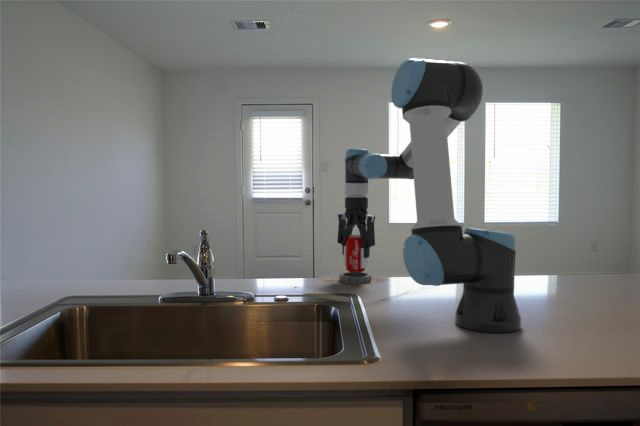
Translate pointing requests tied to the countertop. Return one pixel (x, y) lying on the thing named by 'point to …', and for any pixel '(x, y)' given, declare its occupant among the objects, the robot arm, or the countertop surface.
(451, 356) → the countertop surface
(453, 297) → the countertop surface
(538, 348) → the countertop surface
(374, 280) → the walnut base board
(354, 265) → the soda can
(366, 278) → the gray segmented ring
